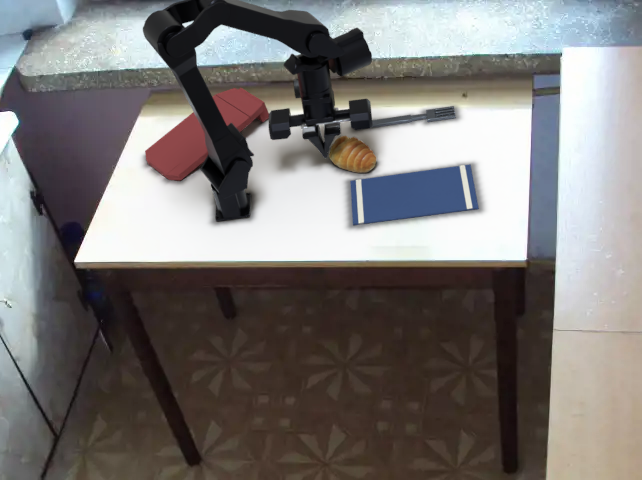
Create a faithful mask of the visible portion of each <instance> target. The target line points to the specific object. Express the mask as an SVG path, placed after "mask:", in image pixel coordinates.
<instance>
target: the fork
mask: <svg viewBox="0 0 642 480" xmlns="http://www.w3.org/2000/svg"><path fill="white" fill-rule="evenodd" d="M456 117H457V116H456V111H455V106H454V105H451V106H444V107H443V106H442V107H436V108H431V109H426V110H425V113H419V114H412V115H411V114H406V115H400V116H393V117H385V118H379V119H372V124H373V126H372V127H371V128H370V129H372V128H377V127H378V128H379V127H385V126H392V125H399V124H405V123H412V122H415V121H421V120H426V121H427V123H430V122H431V123H432V122H439V121H444V120H445V121H446V120H452V119H456Z"/></svg>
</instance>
